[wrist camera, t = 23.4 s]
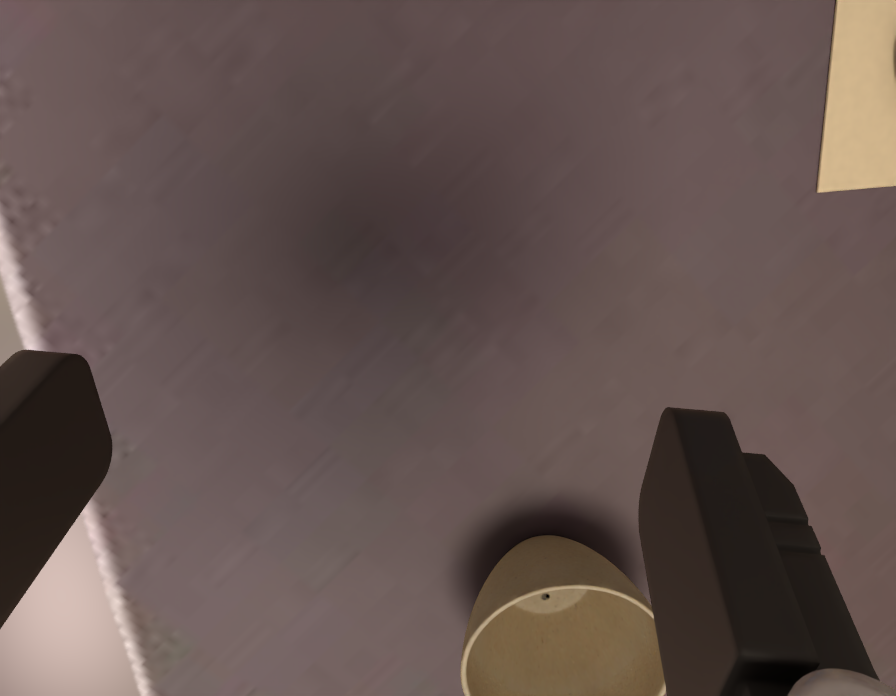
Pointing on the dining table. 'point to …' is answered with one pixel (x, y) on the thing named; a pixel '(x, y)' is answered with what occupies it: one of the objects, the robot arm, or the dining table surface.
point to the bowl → (560, 627)
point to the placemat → (860, 98)
